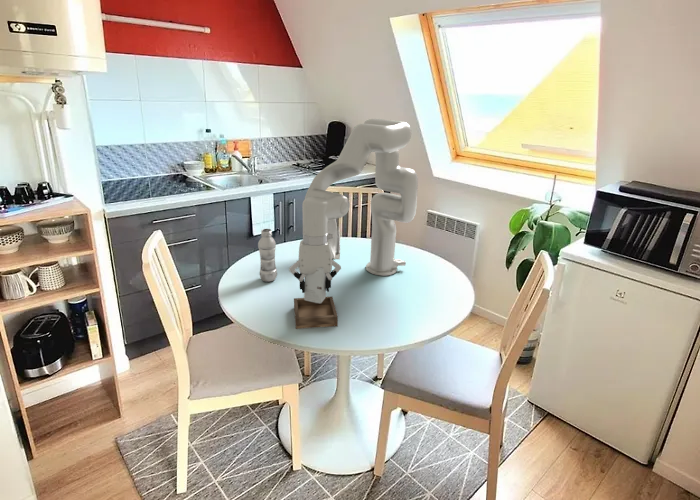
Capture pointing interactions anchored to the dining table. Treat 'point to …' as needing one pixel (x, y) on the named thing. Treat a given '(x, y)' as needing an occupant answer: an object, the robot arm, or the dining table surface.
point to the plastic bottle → (267, 256)
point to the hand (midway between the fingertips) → (315, 289)
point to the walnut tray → (315, 313)
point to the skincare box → (315, 286)
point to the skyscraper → (334, 239)
